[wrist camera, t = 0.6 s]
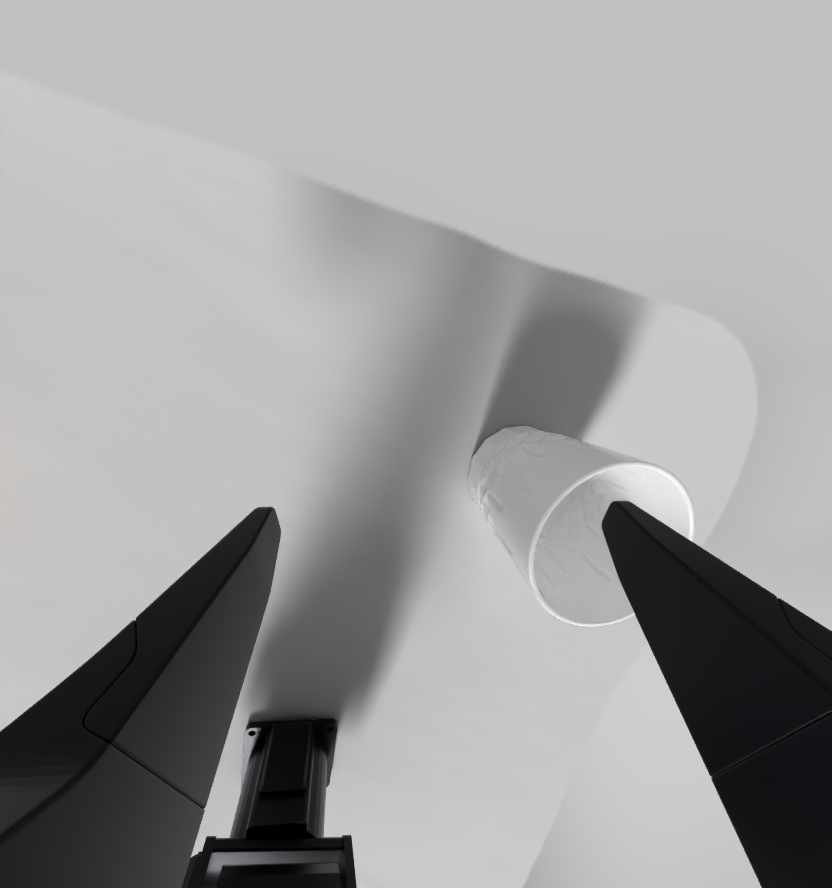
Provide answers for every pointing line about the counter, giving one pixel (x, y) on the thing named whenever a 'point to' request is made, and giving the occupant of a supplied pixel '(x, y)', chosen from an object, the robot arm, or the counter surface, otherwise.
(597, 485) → the white cup
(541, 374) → the counter surface
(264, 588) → the robot arm
